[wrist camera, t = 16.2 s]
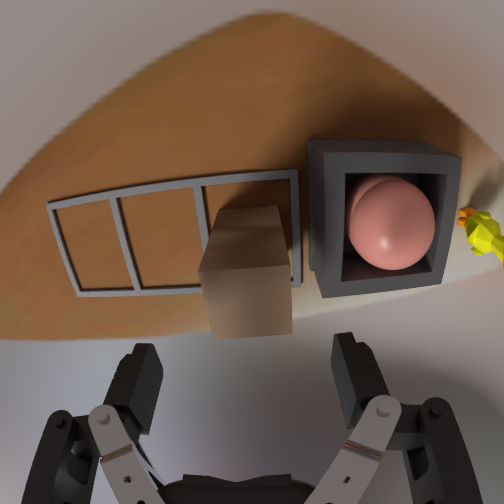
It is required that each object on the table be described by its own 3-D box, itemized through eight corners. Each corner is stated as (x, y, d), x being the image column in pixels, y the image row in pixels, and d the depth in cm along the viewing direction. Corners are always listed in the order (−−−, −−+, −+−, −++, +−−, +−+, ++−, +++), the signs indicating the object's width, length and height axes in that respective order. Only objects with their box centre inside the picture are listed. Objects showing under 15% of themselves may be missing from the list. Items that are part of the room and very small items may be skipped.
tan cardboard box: (226, 261, 24) (213, 339, 16) (218, 210, 22) (197, 272, 14) (280, 257, 24) (292, 333, 16) (277, 204, 22) (290, 264, 14)
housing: (308, 264, 24) (319, 301, 20) (305, 140, 20) (320, 149, 15) (415, 255, 24) (442, 285, 19) (427, 142, 19) (463, 154, 15)
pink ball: (336, 247, 22) (359, 293, 17) (338, 169, 19) (368, 194, 14) (405, 242, 22) (441, 282, 17) (412, 169, 19) (458, 193, 14)
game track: (78, 295, 26) (77, 296, 26) (47, 203, 22) (45, 204, 22) (300, 284, 25) (300, 286, 25) (297, 169, 21) (297, 169, 20)
